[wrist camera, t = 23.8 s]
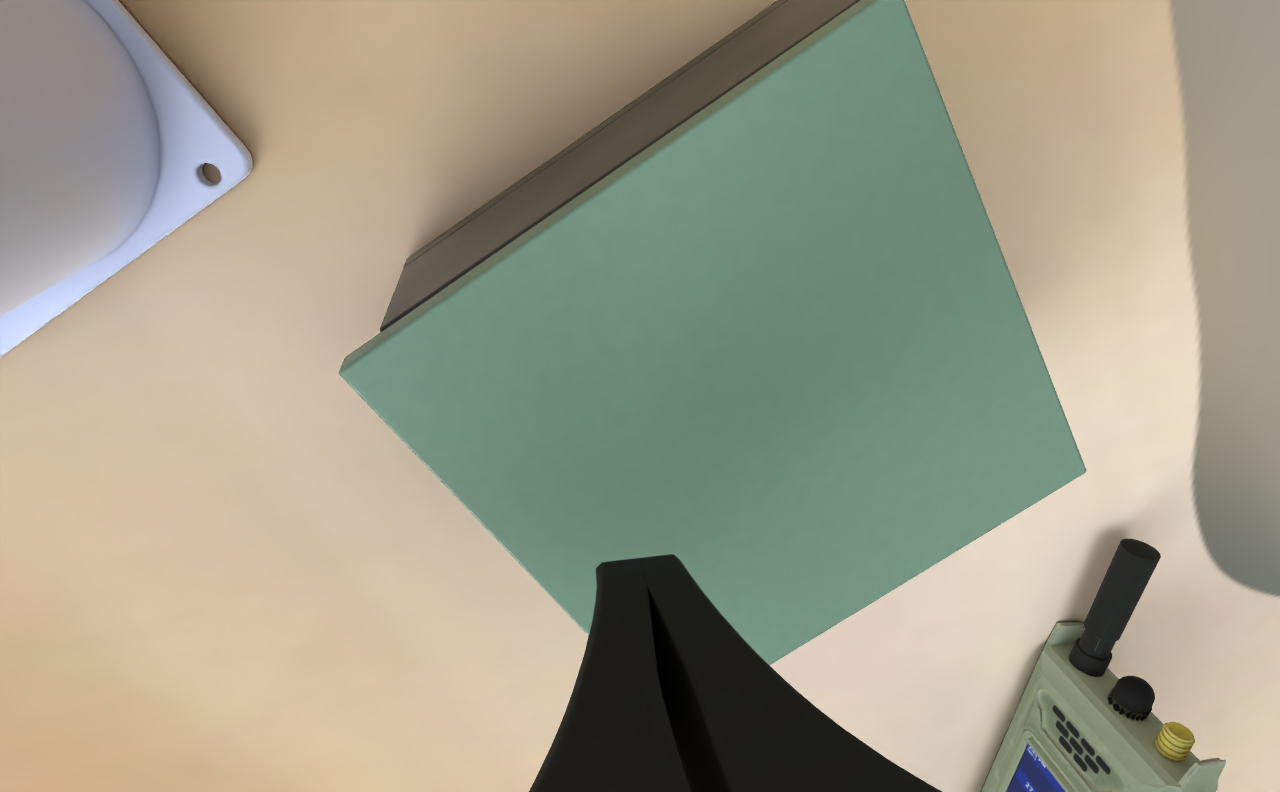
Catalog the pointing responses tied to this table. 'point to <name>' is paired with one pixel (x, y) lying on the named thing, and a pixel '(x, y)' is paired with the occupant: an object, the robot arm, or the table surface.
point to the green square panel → (746, 354)
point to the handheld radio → (1097, 708)
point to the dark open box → (607, 148)
